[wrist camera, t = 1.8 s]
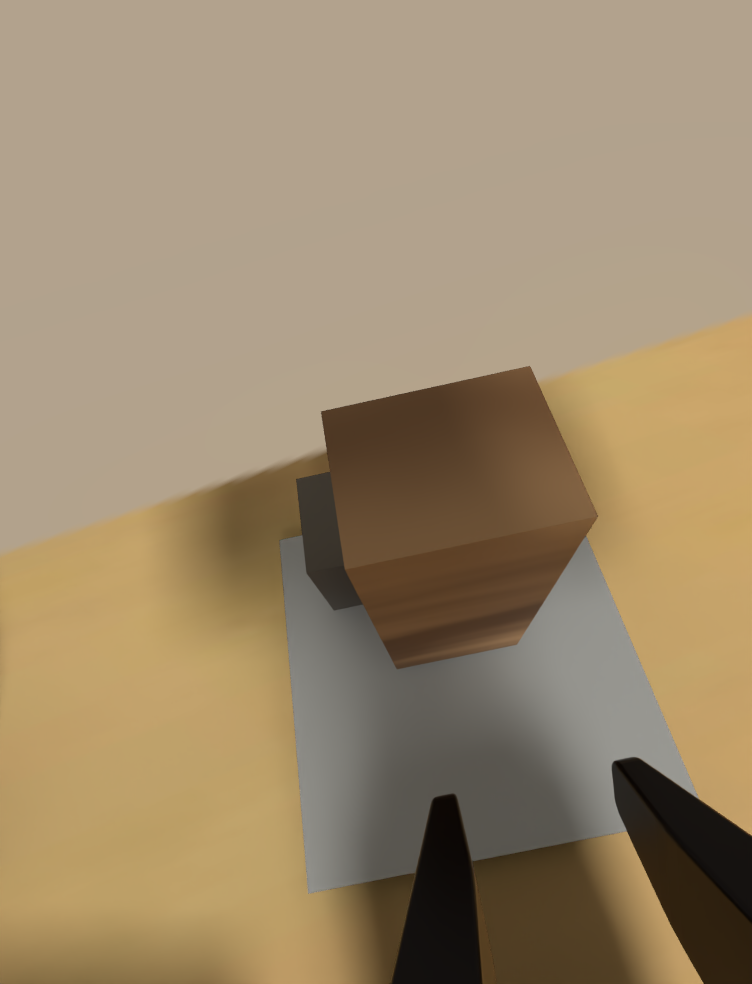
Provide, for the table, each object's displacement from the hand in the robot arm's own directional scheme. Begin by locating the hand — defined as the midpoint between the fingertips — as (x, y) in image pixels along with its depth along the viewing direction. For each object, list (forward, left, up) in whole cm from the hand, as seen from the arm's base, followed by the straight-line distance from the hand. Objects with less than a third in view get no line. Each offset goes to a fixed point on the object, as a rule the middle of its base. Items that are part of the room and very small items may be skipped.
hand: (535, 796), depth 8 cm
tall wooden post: (+3, -5, -11) cm, 13 cm away
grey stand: (+2, -4, -13) cm, 13 cm away
